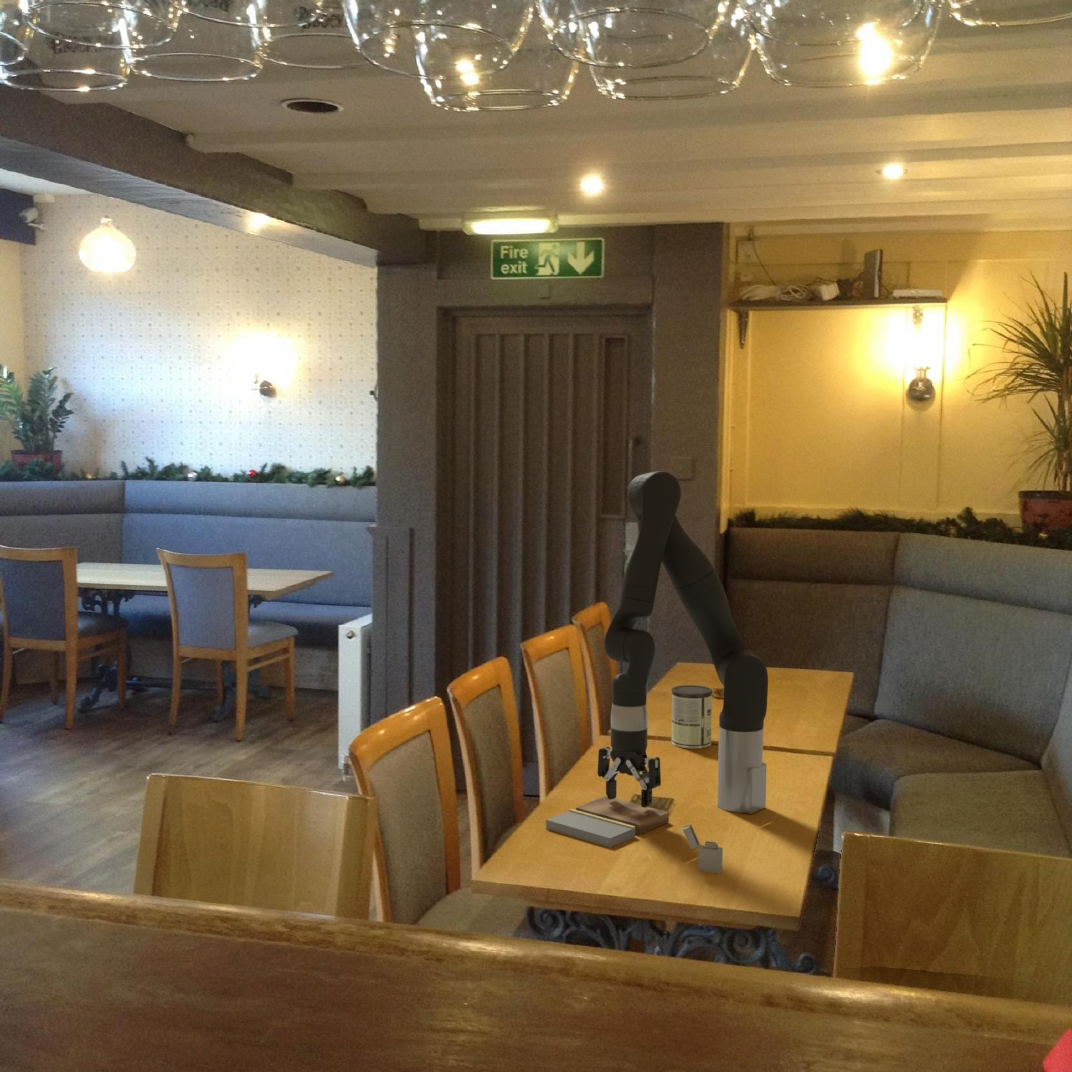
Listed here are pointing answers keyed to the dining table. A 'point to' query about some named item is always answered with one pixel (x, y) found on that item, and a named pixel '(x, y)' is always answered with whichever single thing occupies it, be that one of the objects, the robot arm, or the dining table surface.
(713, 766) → the dining table surface
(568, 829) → the board
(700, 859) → the lighter
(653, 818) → the walnut plank
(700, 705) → the coffee can
